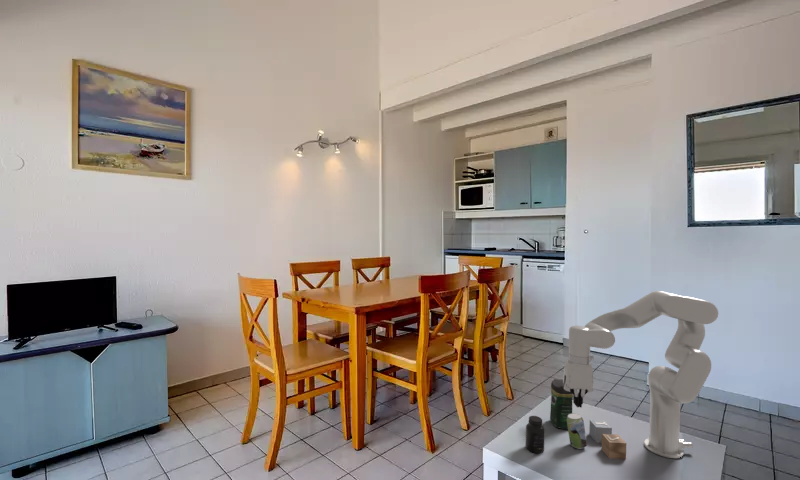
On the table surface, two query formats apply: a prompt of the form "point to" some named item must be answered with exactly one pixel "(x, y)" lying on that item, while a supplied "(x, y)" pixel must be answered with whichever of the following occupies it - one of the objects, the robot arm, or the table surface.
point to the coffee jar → (560, 404)
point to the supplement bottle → (535, 435)
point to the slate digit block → (599, 429)
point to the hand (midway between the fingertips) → (577, 405)
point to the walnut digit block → (614, 446)
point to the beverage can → (576, 431)
